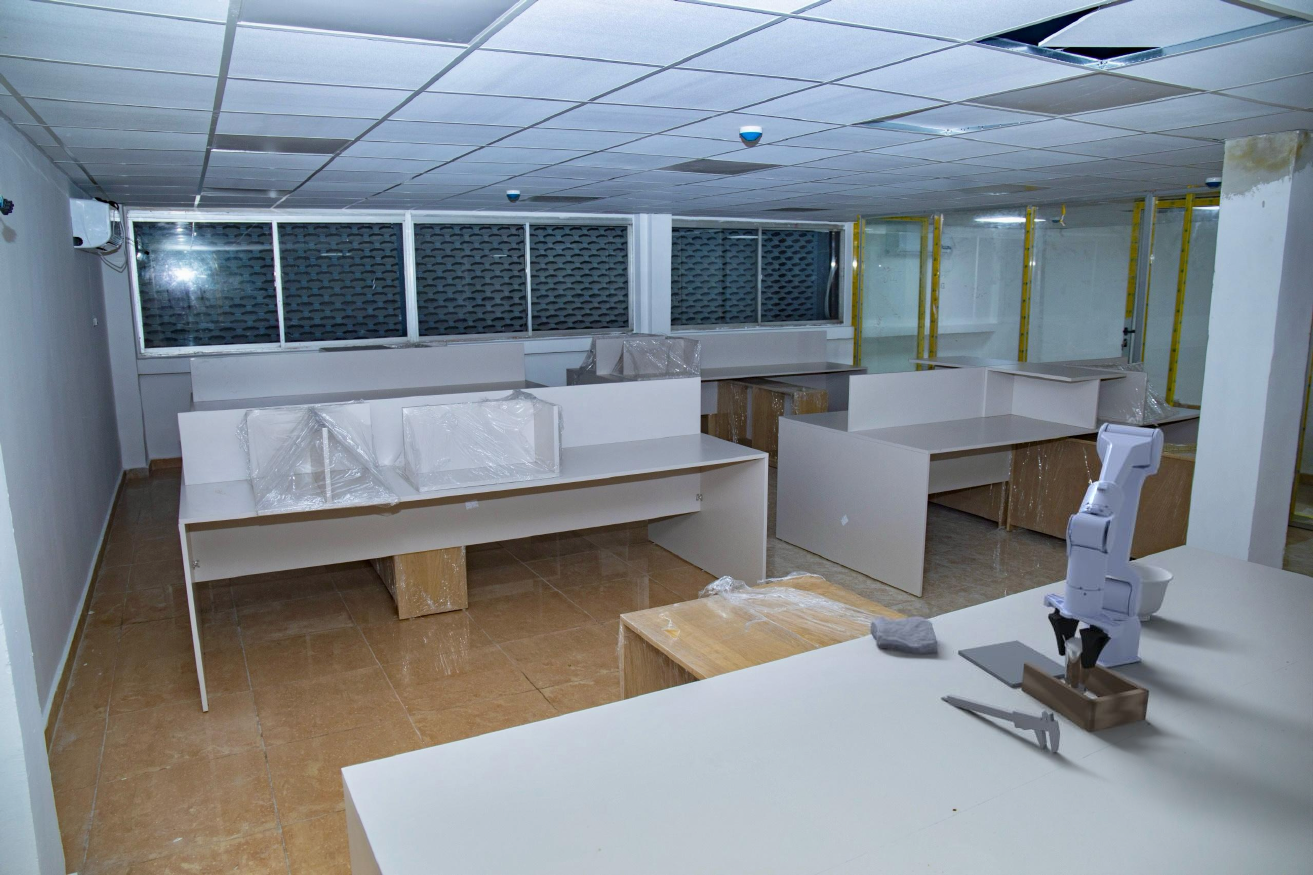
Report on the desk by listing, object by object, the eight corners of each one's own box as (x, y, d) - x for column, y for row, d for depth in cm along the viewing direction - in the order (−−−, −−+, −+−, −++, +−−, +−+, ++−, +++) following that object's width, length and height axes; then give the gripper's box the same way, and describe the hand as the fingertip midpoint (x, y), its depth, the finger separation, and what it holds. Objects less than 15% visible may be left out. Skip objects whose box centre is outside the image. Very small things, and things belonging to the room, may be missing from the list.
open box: (1074, 679, 152) (1077, 652, 151) (1145, 719, 139) (1149, 690, 138) (1021, 689, 148) (1024, 662, 147) (1088, 731, 135) (1092, 702, 134)
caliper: (1058, 753, 129) (1062, 715, 128) (1054, 756, 129) (1058, 717, 128) (944, 698, 146) (946, 664, 145) (940, 700, 145) (942, 666, 144)
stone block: (940, 664, 162) (929, 632, 171) (942, 642, 160) (931, 612, 170) (876, 663, 163) (868, 631, 172) (878, 642, 161) (870, 611, 171)
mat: (1016, 643, 167) (1017, 640, 167) (1073, 675, 154) (1074, 672, 154) (958, 653, 162) (958, 650, 162) (1011, 687, 149) (1011, 684, 149)
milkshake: (1050, 684, 147) (1055, 629, 146) (1081, 684, 148) (1086, 629, 146) (1064, 697, 143) (1069, 640, 141) (1095, 696, 143) (1101, 640, 142)
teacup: (1101, 596, 191) (1106, 554, 189) (1175, 616, 180) (1181, 571, 178) (1079, 610, 183) (1084, 566, 181) (1155, 632, 172) (1161, 585, 170)
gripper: (1033, 572, 147) (1025, 646, 150) (1102, 603, 134) (1093, 684, 136) (1065, 568, 149) (1057, 640, 152) (1136, 598, 136) (1126, 677, 139)
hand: (1076, 660), depth 144 cm, fingers closed on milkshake, 4 cm apart
